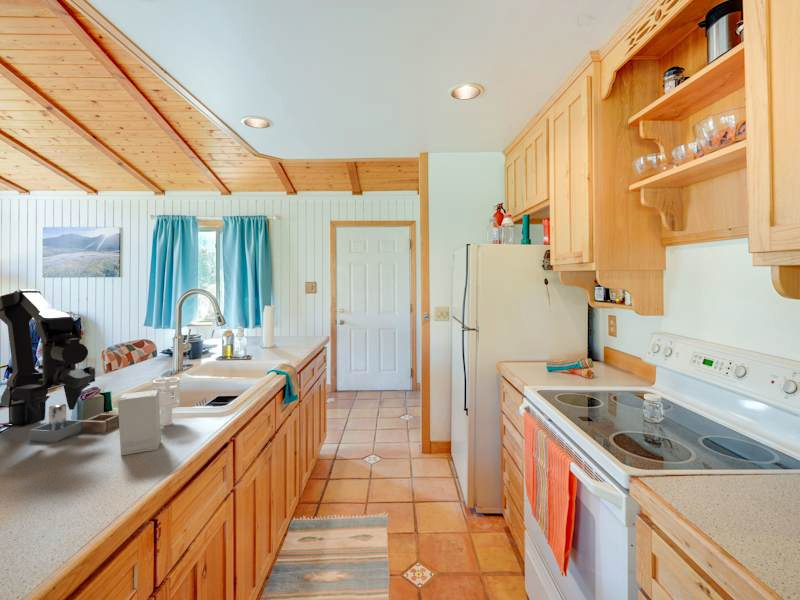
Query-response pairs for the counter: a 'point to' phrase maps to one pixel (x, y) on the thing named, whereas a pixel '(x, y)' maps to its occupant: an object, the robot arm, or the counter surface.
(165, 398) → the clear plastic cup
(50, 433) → the tray
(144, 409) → the skincare box
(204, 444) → the counter surface
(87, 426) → the socket block
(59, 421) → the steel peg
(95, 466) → the counter surface
